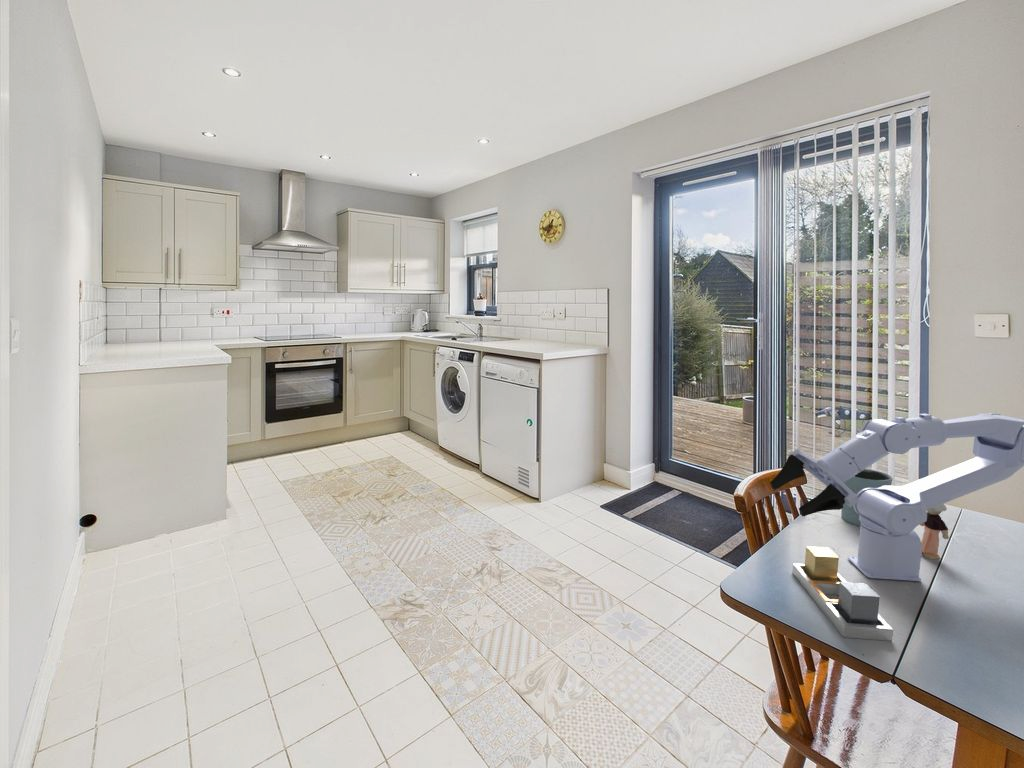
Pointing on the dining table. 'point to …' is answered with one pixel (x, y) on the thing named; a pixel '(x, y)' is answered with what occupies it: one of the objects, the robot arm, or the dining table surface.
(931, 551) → the grandmother figurine
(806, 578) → the zinc tray
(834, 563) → the golden block
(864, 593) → the gunmetal nut block
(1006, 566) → the dining table surface
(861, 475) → the green pot
